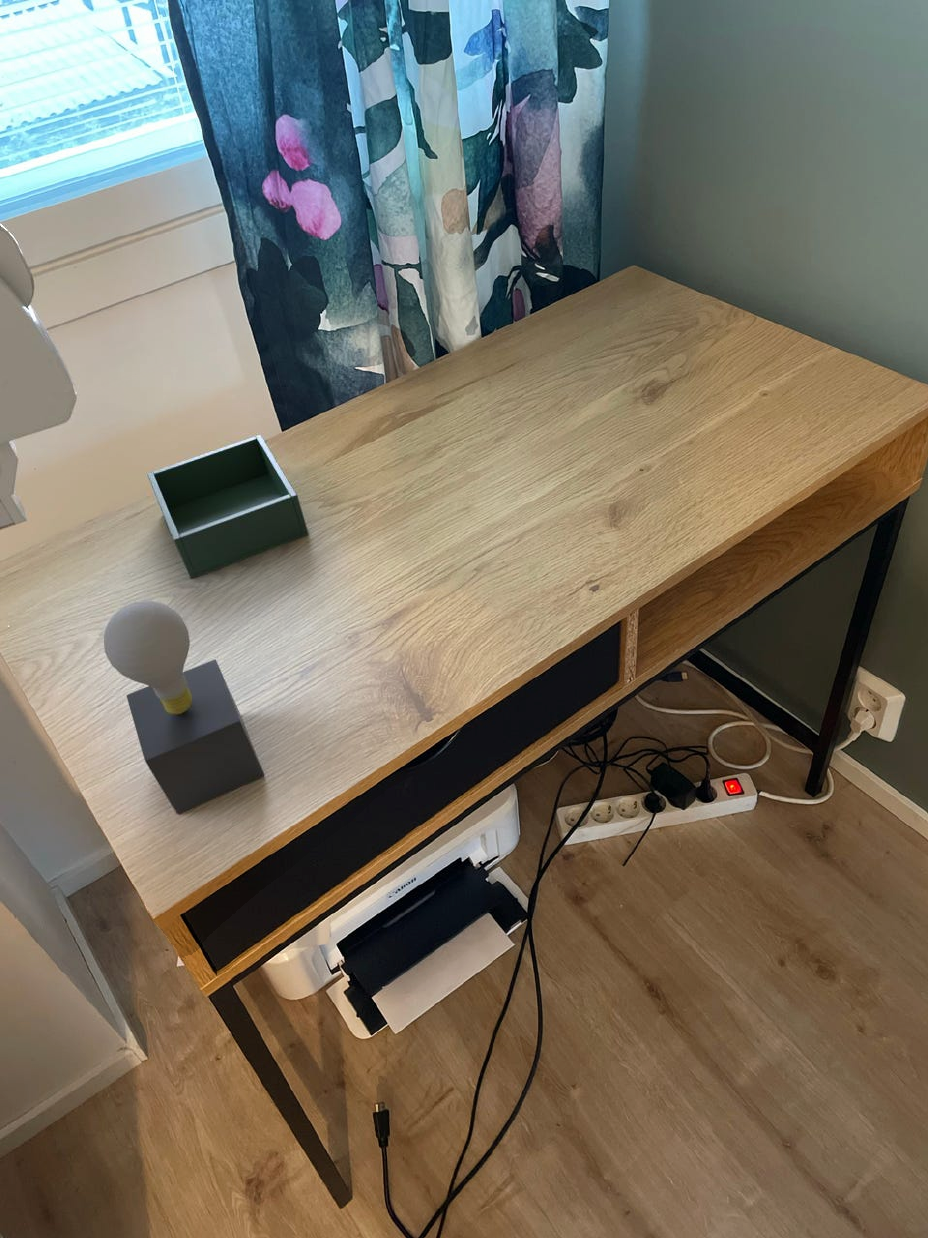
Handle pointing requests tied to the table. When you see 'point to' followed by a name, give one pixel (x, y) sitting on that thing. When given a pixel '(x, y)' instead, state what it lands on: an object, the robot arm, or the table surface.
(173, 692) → the light bulb
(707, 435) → the table surface
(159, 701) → the block
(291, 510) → the green open square box
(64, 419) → the robot arm
